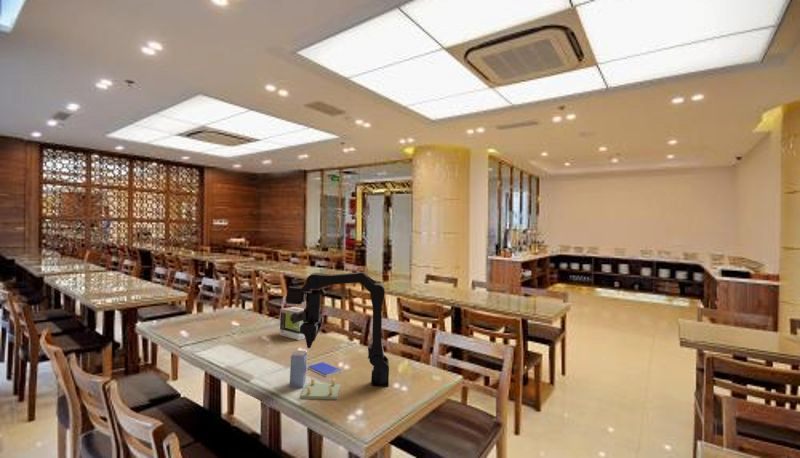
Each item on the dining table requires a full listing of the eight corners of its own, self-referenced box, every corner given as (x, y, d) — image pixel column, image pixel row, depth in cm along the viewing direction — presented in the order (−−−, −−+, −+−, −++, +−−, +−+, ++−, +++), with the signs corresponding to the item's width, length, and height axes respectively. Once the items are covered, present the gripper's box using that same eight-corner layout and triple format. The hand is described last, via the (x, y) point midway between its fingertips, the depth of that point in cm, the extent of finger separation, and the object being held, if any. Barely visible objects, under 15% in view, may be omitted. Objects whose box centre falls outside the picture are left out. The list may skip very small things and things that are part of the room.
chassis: (340, 386, 151) (340, 377, 151) (337, 399, 140) (337, 389, 140) (306, 385, 150) (306, 376, 150) (300, 398, 140) (301, 388, 139)
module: (305, 382, 153) (306, 350, 153) (302, 387, 148) (304, 354, 148) (292, 382, 153) (294, 350, 153) (289, 387, 148) (291, 354, 148)
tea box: (312, 336, 214) (313, 309, 214) (298, 340, 206) (299, 312, 205) (292, 331, 222) (294, 305, 222) (278, 335, 214) (280, 308, 213)
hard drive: (341, 369, 166) (323, 361, 174) (326, 374, 160) (308, 366, 168) (341, 373, 166) (323, 365, 174) (326, 378, 160) (307, 369, 168)
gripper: (297, 299, 164) (295, 336, 164) (286, 309, 145) (284, 351, 145) (324, 300, 164) (322, 337, 164) (317, 310, 145) (314, 352, 146)
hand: (311, 344), depth 155 cm, fingers open, 9 cm apart
